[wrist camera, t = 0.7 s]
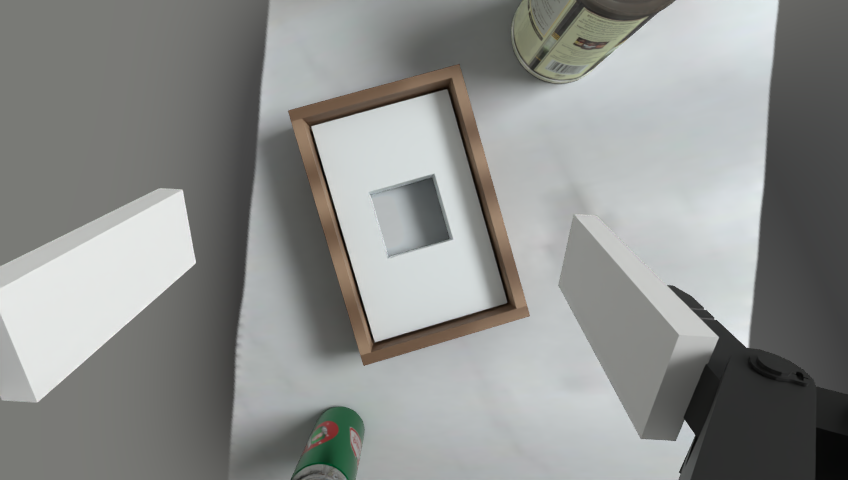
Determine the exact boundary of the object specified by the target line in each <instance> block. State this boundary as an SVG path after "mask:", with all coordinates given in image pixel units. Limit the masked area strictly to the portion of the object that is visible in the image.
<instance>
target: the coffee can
mask: <svg viewBox="0 0 848 480" xmlns="http://www.w3.org/2000/svg"><path fill="white" fill-rule="evenodd" d="M674 1H675V0H522V2H521V4H520V5H519V7H518V8H517V10H516V12H515V14H514V17H513V21H512V26H511V40H512V45H513V48H514V52H515V54H516V56H517V58H518V60H519V61H520V63H521V64H522V66H523V67H524V68H525V69H526V70H527V71H528V72H530V73H531V74H532V75H534V76H535V77H537V78H539V79H541V80H544V81H547V82H552V83H568V82H573V81H576V80H579V79H581V78H582V77H584V76H586V75H587V74H589V73H590V72H591V71H592V70H593V69H594V68H595V67H596V66H597V65H598V64H599V63H600V62H602V61H603V60H604V59H605V58H606V57H607V56H608V55H610V54H611V53H612V52H613V51H614V50H615V49H617V48H618V47H619V46H620V45H621V44H622V43H623V42H625V41H626V40H627V39H628V38H629V37H630V36H632V35H633V34H634V33H635V32H636V31H637V30H639V29H640V28H641V27H642V26H643V25H644V24H645V23H647V22H648V21H649V20H650V19H651V18H652V17H654V16H655V15H656V14H657V13H658V12H659V11H661V10H663V9H665V8H666V7H668V6H669V5H670V4H672V3H673V2H674Z"/></svg>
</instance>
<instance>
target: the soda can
mask: <svg viewBox="0 0 848 480" xmlns="http://www.w3.org/2000/svg"><path fill="white" fill-rule="evenodd" d="M364 431H365V429H364V424H363V421H362V419H361V418H360V416H359V415H358V414H357V413H356V412H355V411H353V410H351V409H349V408H346V407H334V408H331V409H329V410H327V411H325V412H324V413H323V414H322V415H321V416H320V417H319V418H318V420H317V422H316V424H315V427H314V429H313V431H312V433H311V435H310V438H309V440H308V442H307V444H306V446H305V449H304V451H303V453H302V455H301V458H300V460H299V462H298V464H297V466H296V469H295V471H294V473H293V475H292V477H291V480H356V475H357V470H358V464H359V459H360V454H361V449H362V444H363V438H364Z"/></svg>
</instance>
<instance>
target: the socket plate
mask: <svg viewBox="0 0 848 480" xmlns="http://www.w3.org/2000/svg"><path fill="white" fill-rule="evenodd" d="M311 127H312V131H313V134H314V138H315V141H316V144H317V148H318V151H319V154H320V158H321V161H322V165H323V168H324V171H325V175H326V178H327V182H328V185H329V188H330V192H331V195H332V199H333V202H334V205H335V209H336V212H337V216H338V219H339V222H340V226H341V229H342V233H343V236H344V239H345V243H346V246H347V250H348V253H349V256H350V260H351V263H352V267H353V270H354V273H355V277H356V280H357V284H358V287H359V290H360V294H361V297H362V301H363V304H364V307H365V311H366V314H367V317H368V321H369V324H370V328H371V331H372V334H373V338H374V341H375V342H378V341H381V340H384V339H388V338H391V337H395V336H398V335H401V334H405V333H408V332H411V331H415V330H418V329H421V328H425V327H428V326H432V325H435V324H438V323H442V322H445V321H448V320H452V319H455V318H458V317H462V316H465V315H468V314H472V313H475V312H479V311H482V310H485V309H489V308H492V307H495V306H499V305H502V304H505V303H507V299H506V296H505V292H504V289H503V285H502V282H501V278H500V274H499V271H498V267H497V264H496V260H495V257H494V253H493V250H492V246H491V242H490V239H489V235H488V232H487V228H486V225H485V221H484V218H483V214H482V210H481V207H480V203H479V200H478V196H477V193H476V189H475V186H474V182H473V178H472V175H471V171H470V168H469V164H468V161H467V157H466V154H465V150H464V146H463V143H462V139H461V136H460V132H459V129H458V125H457V122H456V118H455V114H454V111H453V107H452V104H451V100H450V97H449V93H448V90H447V89H446V90H442V91H438V92H435V93H431V94H427V95H424V96H420V97H416V98H413V99H409V100H405V101H402V102H398V103H395V104H391V105H387V106H384V107H380V108H376V109H373V110H369V111H365V112H362V113H358V114H354V115H351V116H347V117H344V118H340V119H336V120H333V121H329V122H325V123H322V124H318V125H314V126H311ZM428 178H433V181H434V185H435V188H436V192H437V195H438V199H439V202H440V206H441V209H442V213H443V216H444V220H445V223H446V227H447V230H448V234H449V237H450V239H448V240H444V241H441V242H438V243H434V244H431V245H427V246H424V247H420V248H417V249H413V250H410V251H406V252H403V253H400V254H396V255H393V256H389V257H388V253H387V250H386V246H385V243H384V239H383V236H382V233H381V229H380V226H379V222H378V219H377V215H376V212H375V208H374V205H373V202H372V198H371V195H372V194H375V193H379V192H382V191H386V190H390V189H393V188H397V187H400V186H404V185H407V184H411V183H414V182H418V181H421V180H425V179H428Z"/></svg>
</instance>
